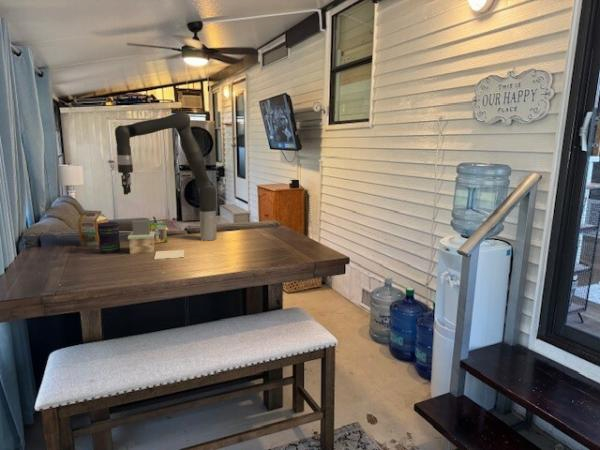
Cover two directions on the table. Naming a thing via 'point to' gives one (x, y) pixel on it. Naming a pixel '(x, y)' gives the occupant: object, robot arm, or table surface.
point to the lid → (141, 230)
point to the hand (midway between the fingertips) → (127, 193)
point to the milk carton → (90, 227)
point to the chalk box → (158, 230)
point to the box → (141, 245)
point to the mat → (169, 254)
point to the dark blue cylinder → (108, 238)
